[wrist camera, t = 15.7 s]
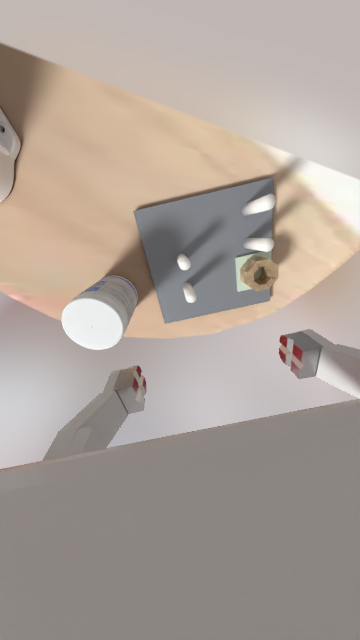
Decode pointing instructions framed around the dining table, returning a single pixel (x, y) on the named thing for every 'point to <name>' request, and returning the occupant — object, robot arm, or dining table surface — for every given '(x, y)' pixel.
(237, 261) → the pad
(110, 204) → the dining table surface
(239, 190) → the board
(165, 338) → the dining table surface
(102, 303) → the supplement tub
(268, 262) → the ring
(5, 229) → the dining table surface
